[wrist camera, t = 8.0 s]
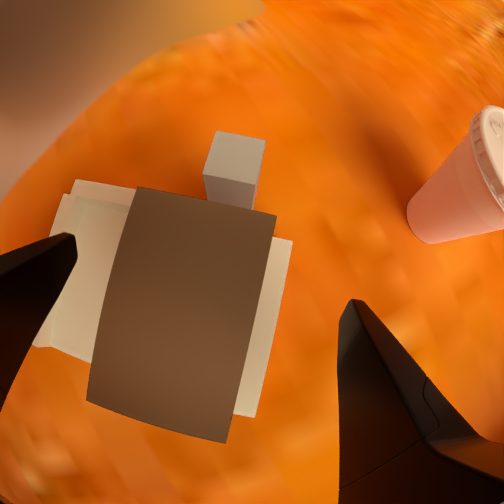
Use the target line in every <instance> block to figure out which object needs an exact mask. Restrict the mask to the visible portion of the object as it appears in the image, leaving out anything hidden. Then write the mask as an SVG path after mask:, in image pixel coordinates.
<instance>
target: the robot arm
mask: <svg viewBox="0 0 504 504" xmlns="http://www.w3.org/2000/svg"><path fill="white" fill-rule="evenodd" d="M77 260H78V251H77V244H76V238H75V236H74V235H73V234H71V233H67V232H62V233H59V234H57V235H54V236H51V237H48V238H45V239H42V240H40V241H37V242H34V243H31V244H29V245H26V246H23V247H21V248H18V249H15V250H13V251H10V252H8V253H5V254H3V255H0V411H1V409H2V407H3V404H4V402H5V399H6V397H7V394H8V392H9V390H10V388H11V385H12V383H13V381H14V379H15V377H16V375H17V373H18V371H19V368H20V366H21V364H22V362H23V360H24V358H25V356H26V354H27V352H28V351H29V349H30V347H31V345H32V343H33V341H34V339H35V337H36V336H37V334H38V332H39V330H40V328H41V327H42V325H43V323H44V321H45V320H46V318H47V316H48V314H49V313H50V311H51V309H52V308H53V306H54V304H55V303H56V301H57V299H58V297H59V296H60V294H61V292H62V290H63V288H64V286H65V284H66V282H67V280H68V278H69V276H70V274H71V272H72V270H73V268H74V266H75V264H76V262H77ZM337 378H338V401H339V445H340V463H339V489H340V490H339V500H338V504H504V444H499V443H495V442H491V441H489V440H486V439H485V438H483V437H482V436H480V435H479V434H478V433H477V432H476V431H475V430H474V429H473V428H472V427H471V426H470V425H469V423H468V422H467V421H466V420H465V419H464V418H463V417H462V416H461V415H460V414H459V412H458V411H457V410H456V409H455V408H454V407H453V406H452V405H451V404H450V403H449V401H448V400H447V399H446V398H445V397H444V396H443V395H442V393H441V392H440V391H439V390H438V389H437V387H436V386H435V385H434V384H433V383H432V381H431V380H430V379H429V378H428V377H426V374H425V373H424V371H423V370H422V369H421V368H420V367H419V365H418V364H417V363H416V362H415V360H414V359H413V358H412V357H411V356H410V354H409V353H408V352H407V351H406V350H405V348H404V347H403V346H402V345H401V344H400V343H399V341H398V340H397V339H396V338H395V337H394V335H393V334H392V333H391V332H390V331H389V330H388V328H387V327H386V326H385V325H384V324H383V323H382V321H381V320H380V319H379V318H378V317H377V316H376V315H375V313H374V312H373V311H372V310H371V309H370V308H369V307H368V305H367V304H366V303H365V302H364V301H362V300H357V299H351V300H350V301H349V302H348V304H347V306H346V308H345V310H344V312H343V314H342V316H341V318H340V321H339V334H338V355H337ZM0 504H13V503H12V502H10V501H9V500H7V499H6V498H5V497H3V496H2V495H1V494H0Z"/></svg>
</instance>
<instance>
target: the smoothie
mask: <svg viewBox="0 0 504 504" xmlns="http://www.w3.org/2000/svg"><path fill="white" fill-rule="evenodd" d="M407 220H408V223H409V226H410V228H411V230H412V232H413V233H414V234H415V236H416V237H417V238H418V239H420V240H421V241H423V242H425V243H428V244H435V243H440V242H445V241H450V240H455V239H460V238H464V237H469V236H474V235H479V234H483V233H488V232H493V231H497V230H502V229H504V109H502V108H500V107H498V106H493V105H490V106H486V107H485V108H484V109H483V110H482V111H481V112H480V113H478V114H475V115H474V117H473V118H472V120H471V121H470V129H469V133H468V134H467V135H466V136H465V137H464V138H463V140H462V141H461V142H460V143H459V145H458V146H457V147H456V148H455V149H454V151H453V152H452V153H451V154H450V155H449V157H448V158H447V159H446V160H445V161H444V162H443V163H442V165H441V166H440V167H439V168H438V169H437V170H436V172H435V173H434V174H433V175H432V176H431V177H430V178H429V179H428V181H427V182H426V183H425V184H424V185H423V186H422V187H421V188H420V189H419V191H418V192H417V193H416V194H415V195H414V196H413V197H412V198H411V199H410V201H409V203H408V205H407Z"/></svg>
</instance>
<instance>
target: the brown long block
mask: <svg viewBox="0 0 504 504" xmlns="http://www.w3.org/2000/svg"><path fill="white" fill-rule="evenodd" d="M276 218H277V216H275V215H271V214H267V213H262V212H258V211H254V210H249V209H245V208H240V207H236V206H231V205H227V204H222V203H217V202H213V201H208V200H203V199H199V198H194V197H189V196H184V195H179V194H174V193H169V192H164V191H159V190H154V189H148V188H143V187H137V189H136V192H135V195H134V198H133V201H132V204H131V207H130V210H129V213H128V216H127V219H126V222H125V225H124V228H123V231H122V234H121V238H120V241H119V244H118V248H117V251H116V255H115V258H114V262H113V265H112V269H111V273H110V277H109V281H108V285H107V289H106V293H105V297H104V301H103V305H102V310H101V314H100V319H99V324H98V329H97V334H96V339H95V344H94V350H93V356H92V362H91V368H90V375H89V382H88V389H87V397H86V401H89V402H91V403H94V404H96V405H98V406H101V407H103V408H106V409H108V410H111V411H114V412H116V413H119V414H122V415H124V416H127V417H130V418H133V419H136V420H139V421H142V422H145V423H148V424H151V425H154V426H157V427H161V428H164V429H167V430H171V431H175V432H178V433H182V434H186V435H190V436H194V437H198V438H202V439H206V440H211V441H215V442H220V443H225V444H226V440H227V436H228V432H229V428H230V424H231V420H232V416H233V411H234V407H235V403H236V399H237V394H238V390H239V386H240V382H241V377H242V373H243V369H244V364H245V360H246V356H247V351H248V347H249V342H250V338H251V334H252V329H253V325H254V320H255V316H256V311H257V307H258V302H259V298H260V293H261V289H262V284H263V279H264V275H265V270H266V265H267V261H268V256H269V251H270V247H271V242H272V237H273V233H274V228H275V223H276Z"/></svg>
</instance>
